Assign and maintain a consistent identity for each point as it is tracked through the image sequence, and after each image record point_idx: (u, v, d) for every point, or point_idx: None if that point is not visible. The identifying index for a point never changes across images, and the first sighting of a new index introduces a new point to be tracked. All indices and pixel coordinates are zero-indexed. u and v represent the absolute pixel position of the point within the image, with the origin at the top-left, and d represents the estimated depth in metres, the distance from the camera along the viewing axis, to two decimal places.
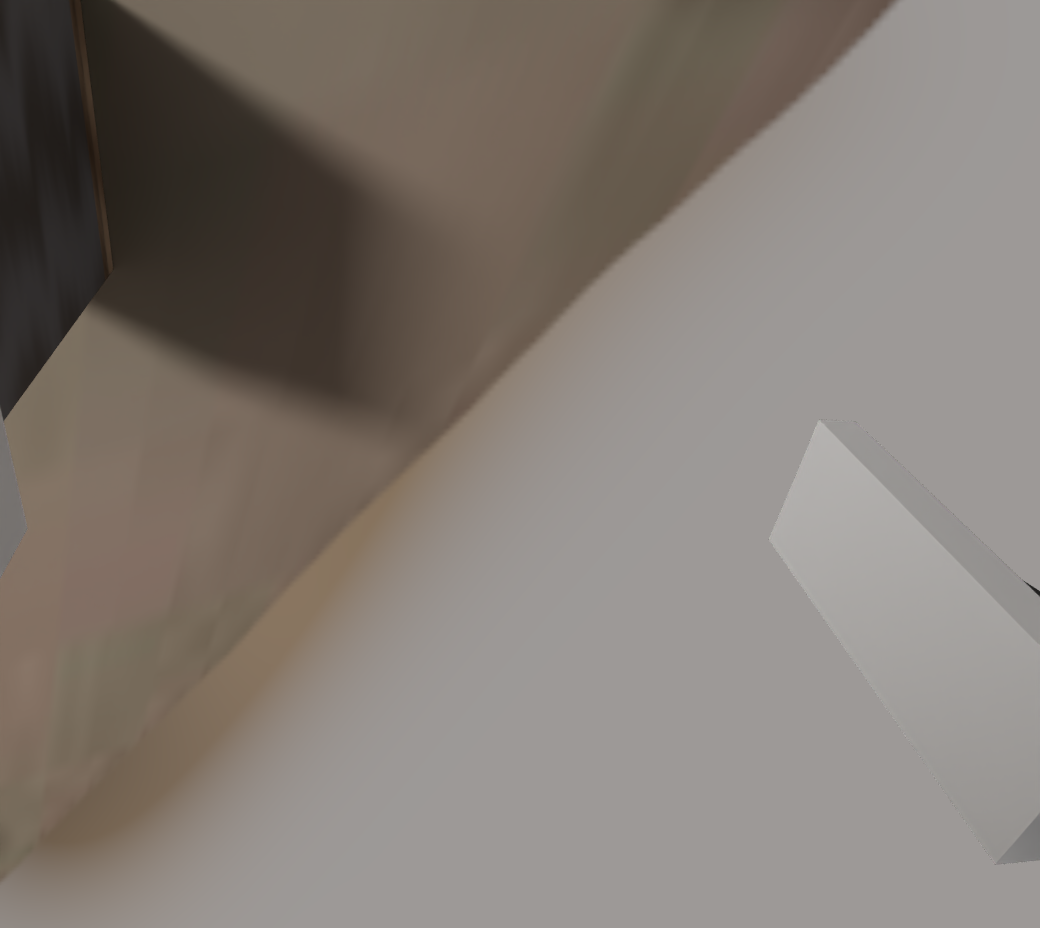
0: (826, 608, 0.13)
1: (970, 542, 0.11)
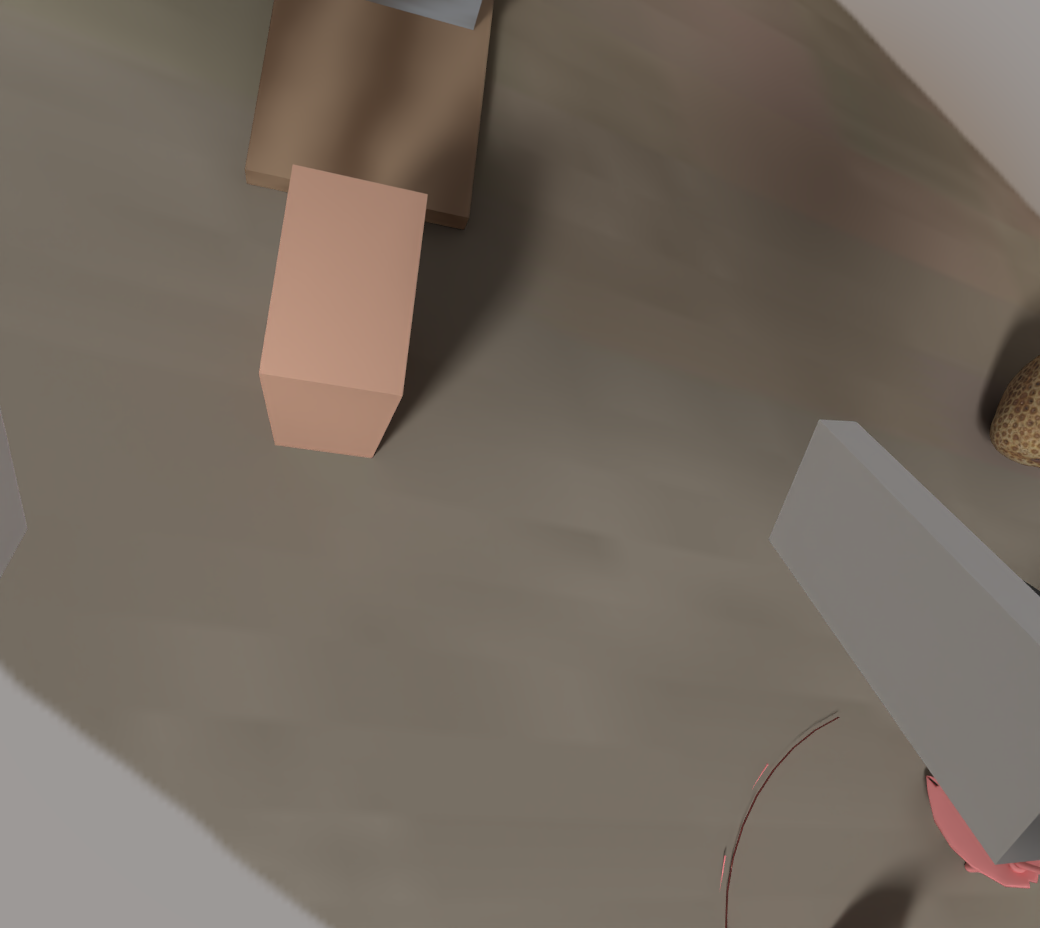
0: (826, 608, 0.13)
1: (970, 542, 0.11)
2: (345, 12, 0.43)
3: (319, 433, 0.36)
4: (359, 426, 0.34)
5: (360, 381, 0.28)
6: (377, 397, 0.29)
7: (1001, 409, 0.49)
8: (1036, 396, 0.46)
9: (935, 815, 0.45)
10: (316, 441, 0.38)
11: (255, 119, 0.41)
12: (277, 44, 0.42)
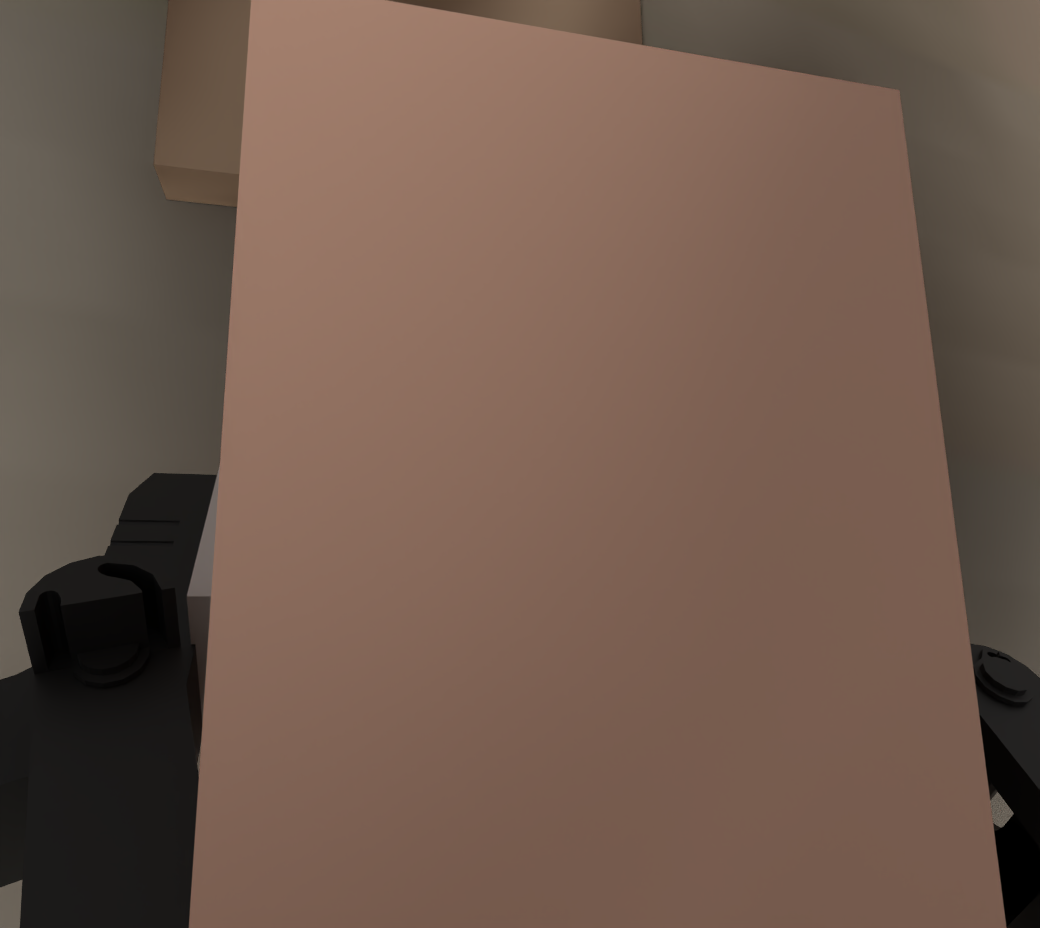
0: None
1: None
2: None
3: None
4: None
5: None
6: None
7: None
8: None
9: None
10: None
11: (168, 51, 0.18)
12: None
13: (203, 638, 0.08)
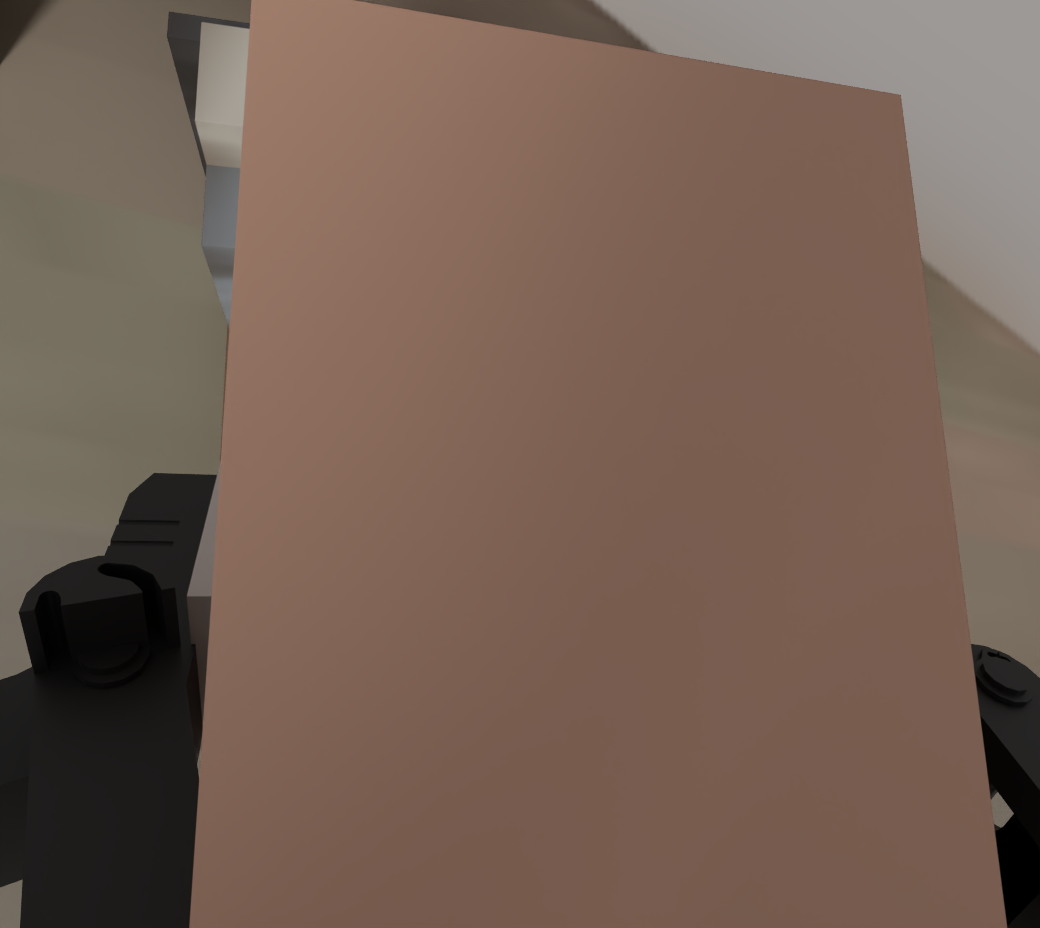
0: None
1: None
2: None
3: None
4: None
5: None
6: None
7: None
8: None
9: None
10: None
11: None
12: None
13: (203, 638, 0.08)
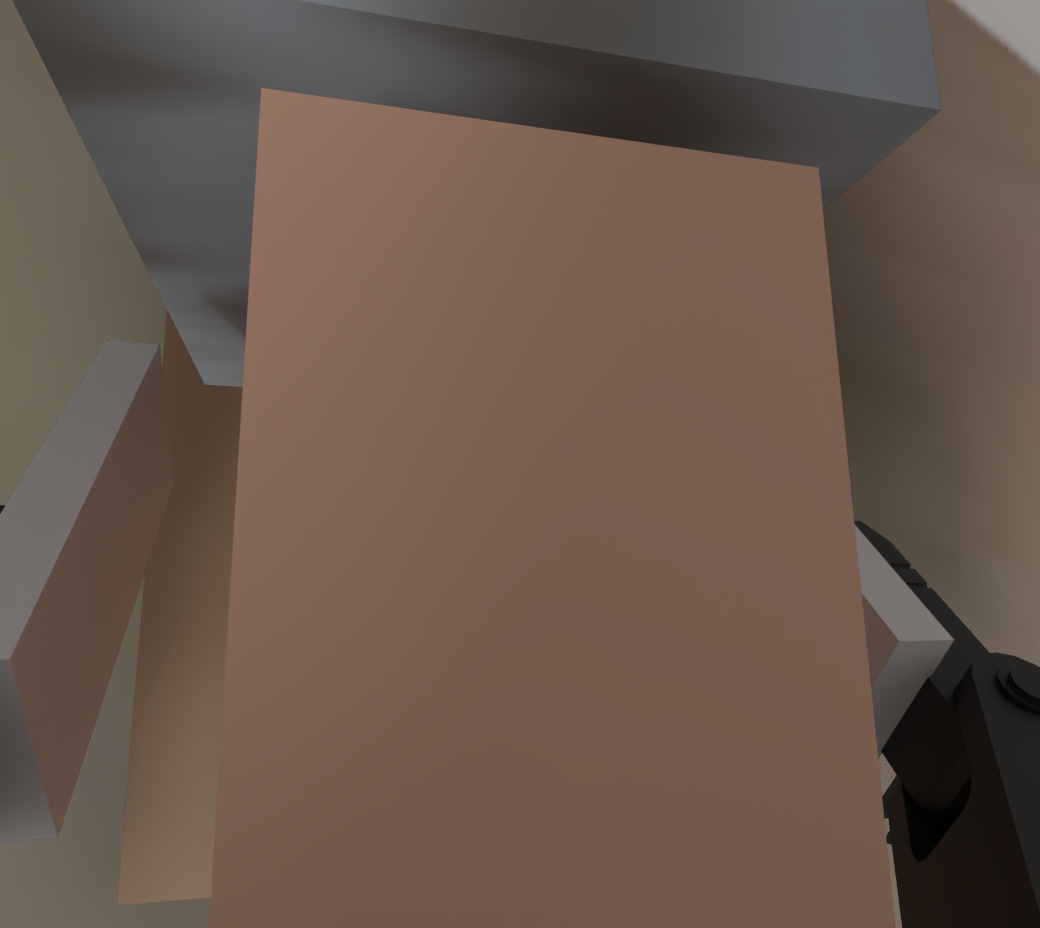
0: None
1: None
2: None
3: None
4: None
5: None
6: None
7: None
8: None
9: None
10: None
11: (134, 760, 0.17)
12: (172, 550, 0.18)
13: None
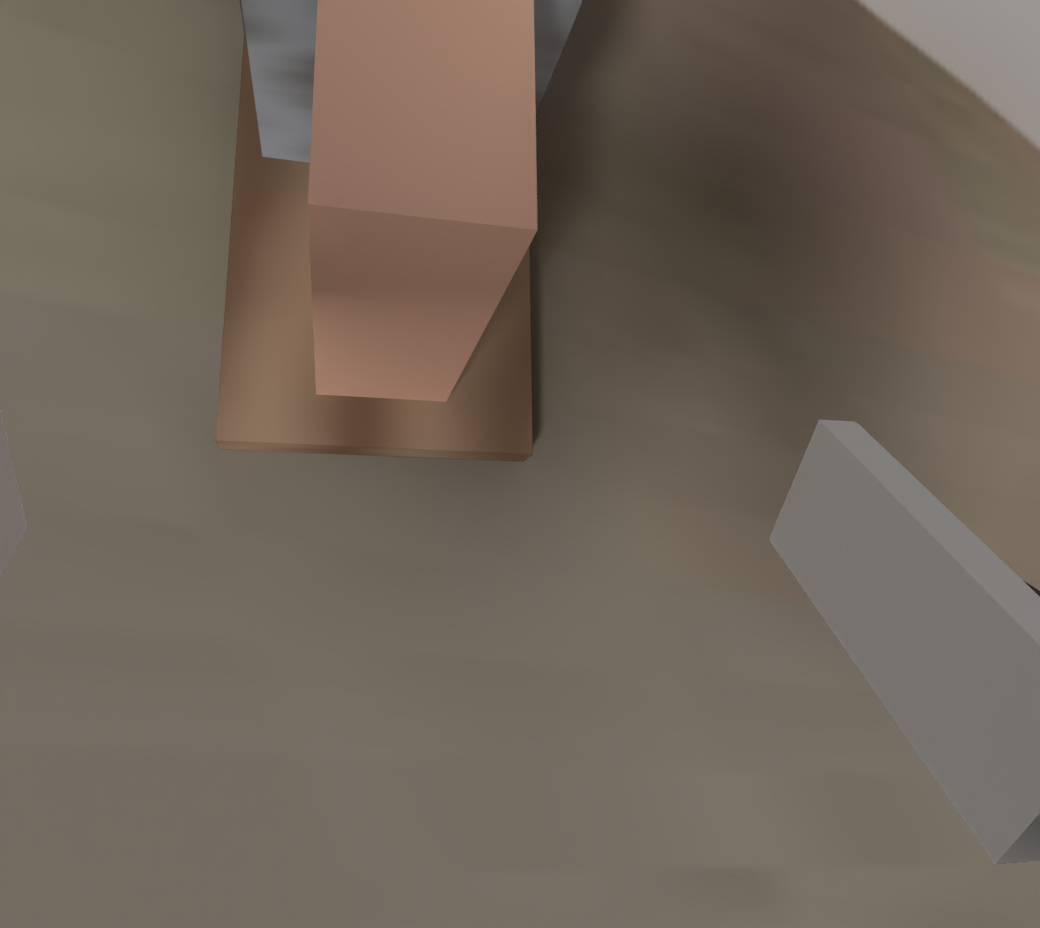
0: (826, 608, 0.13)
1: (970, 542, 0.11)
2: None
3: (382, 357, 0.26)
4: (445, 329, 0.23)
5: (469, 210, 0.17)
6: (493, 242, 0.18)
7: None
8: None
9: None
10: (375, 377, 0.28)
11: (223, 364, 0.29)
12: (244, 250, 0.30)
13: None
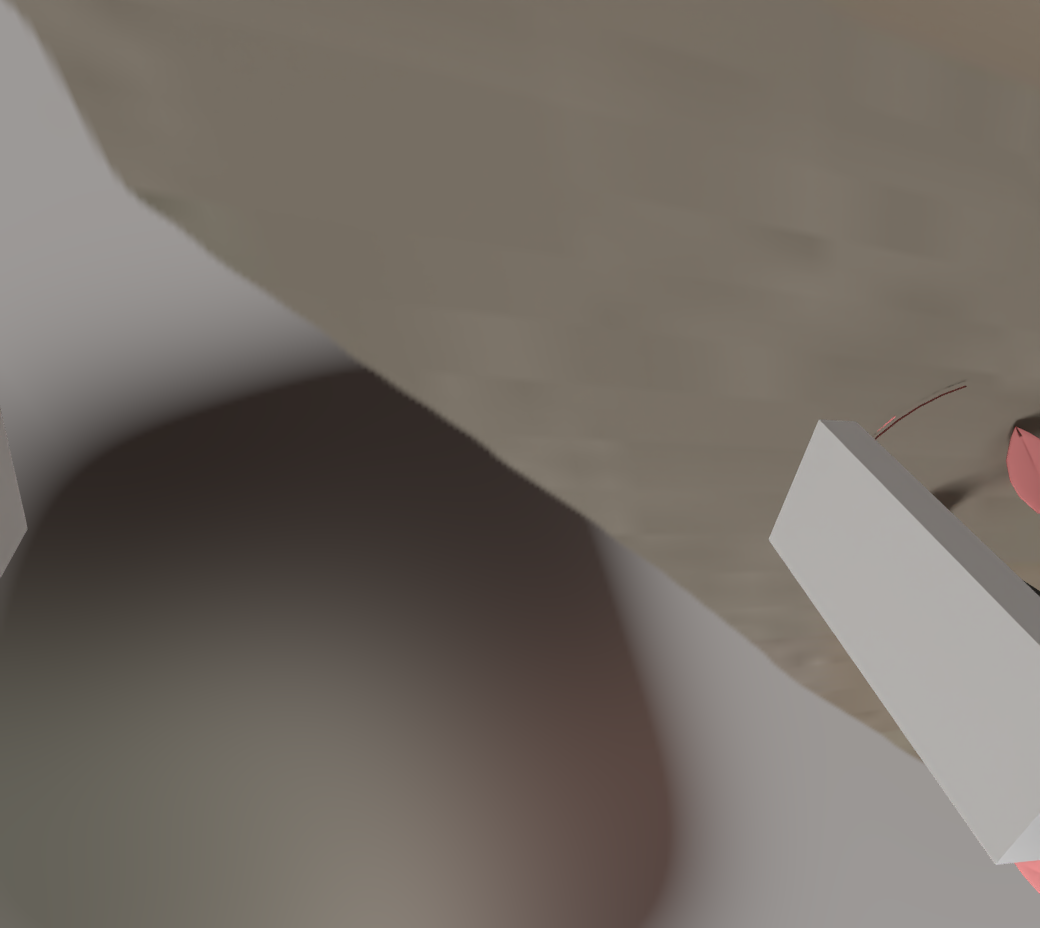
0: (826, 608, 0.13)
1: (970, 542, 0.11)
2: None
3: None
4: None
5: None
6: None
7: None
8: None
9: (1008, 457, 0.59)
10: None
11: None
12: None
13: None
